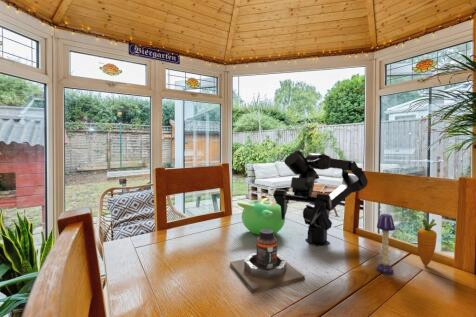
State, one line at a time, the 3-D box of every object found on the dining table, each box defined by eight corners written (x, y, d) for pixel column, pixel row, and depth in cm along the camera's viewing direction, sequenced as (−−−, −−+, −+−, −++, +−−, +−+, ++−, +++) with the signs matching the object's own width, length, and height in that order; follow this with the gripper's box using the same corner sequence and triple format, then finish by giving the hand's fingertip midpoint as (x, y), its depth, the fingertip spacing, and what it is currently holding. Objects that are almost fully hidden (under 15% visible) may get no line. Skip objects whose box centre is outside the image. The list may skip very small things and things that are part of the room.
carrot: (432, 263, 82) (434, 216, 81) (438, 270, 77) (440, 221, 76) (413, 260, 84) (415, 214, 83) (418, 268, 79) (420, 219, 78)
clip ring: (272, 257, 85) (272, 249, 84) (293, 273, 74) (293, 265, 74) (239, 263, 80) (239, 255, 80) (256, 282, 70) (256, 273, 69)
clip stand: (274, 256, 88) (274, 253, 87) (304, 279, 73) (304, 276, 73) (230, 265, 81) (230, 261, 81) (252, 292, 67) (252, 288, 67)
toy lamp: (371, 268, 79) (373, 213, 78) (382, 265, 81) (384, 212, 80) (386, 275, 75) (388, 218, 74) (397, 272, 77) (399, 216, 75)
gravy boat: (290, 231, 111) (291, 197, 109) (273, 245, 96) (274, 206, 95) (253, 224, 120) (253, 192, 119) (232, 236, 106) (232, 200, 105)
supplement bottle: (276, 274, 73) (276, 235, 73) (255, 272, 75) (255, 233, 74) (277, 264, 79) (277, 228, 79) (257, 263, 81) (257, 226, 80)
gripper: (275, 166, 92) (262, 204, 83) (330, 169, 83) (323, 212, 74) (282, 185, 99) (271, 221, 91) (334, 189, 90) (327, 230, 82)
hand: (296, 221), depth 84 cm, fingers open, 9 cm apart
